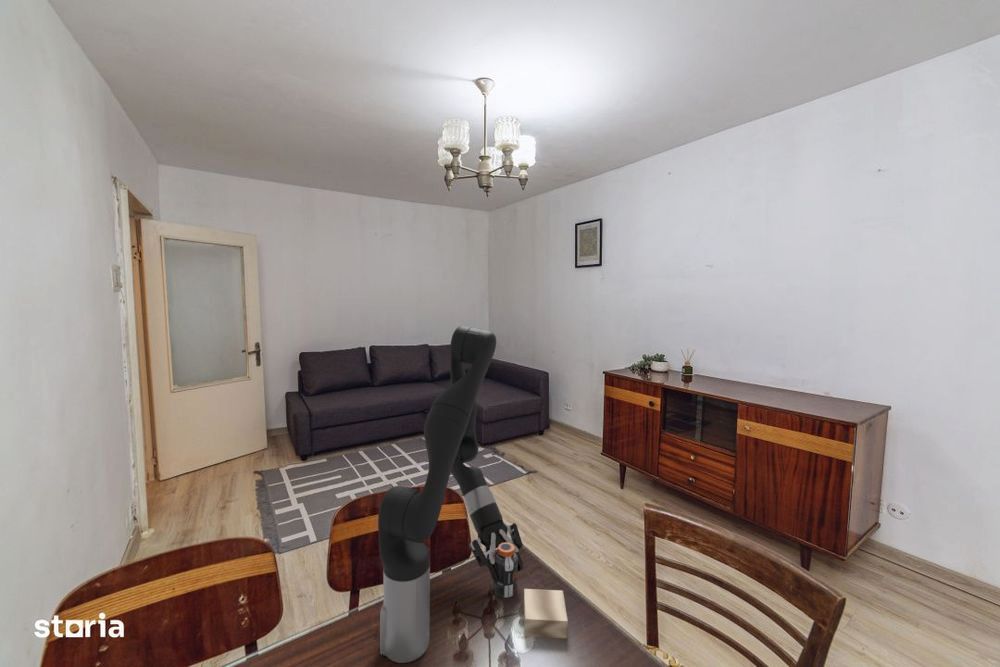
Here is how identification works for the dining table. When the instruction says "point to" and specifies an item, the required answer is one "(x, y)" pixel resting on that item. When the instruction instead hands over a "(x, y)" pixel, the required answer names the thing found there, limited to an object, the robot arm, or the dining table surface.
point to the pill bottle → (506, 570)
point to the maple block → (545, 613)
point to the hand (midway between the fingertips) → (510, 575)
